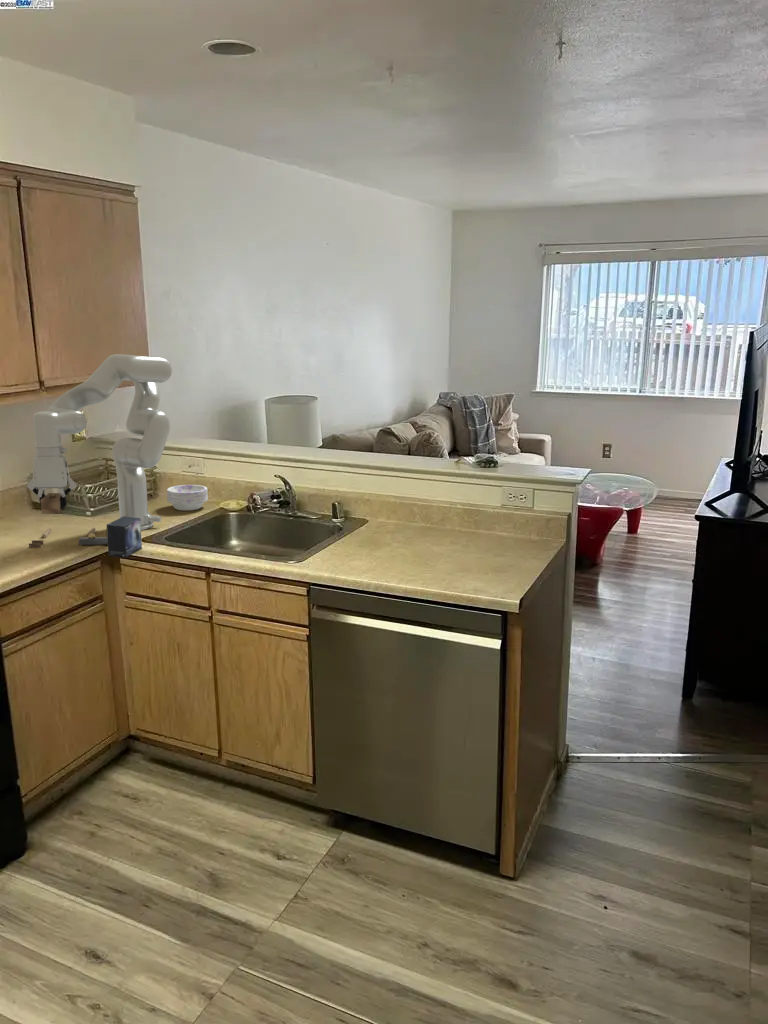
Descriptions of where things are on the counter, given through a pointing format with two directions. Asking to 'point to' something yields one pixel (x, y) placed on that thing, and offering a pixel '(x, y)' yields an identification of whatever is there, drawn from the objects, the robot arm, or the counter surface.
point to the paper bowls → (187, 496)
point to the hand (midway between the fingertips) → (53, 508)
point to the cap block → (51, 503)
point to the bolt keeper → (36, 543)
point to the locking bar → (92, 540)
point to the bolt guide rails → (50, 532)
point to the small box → (124, 537)
